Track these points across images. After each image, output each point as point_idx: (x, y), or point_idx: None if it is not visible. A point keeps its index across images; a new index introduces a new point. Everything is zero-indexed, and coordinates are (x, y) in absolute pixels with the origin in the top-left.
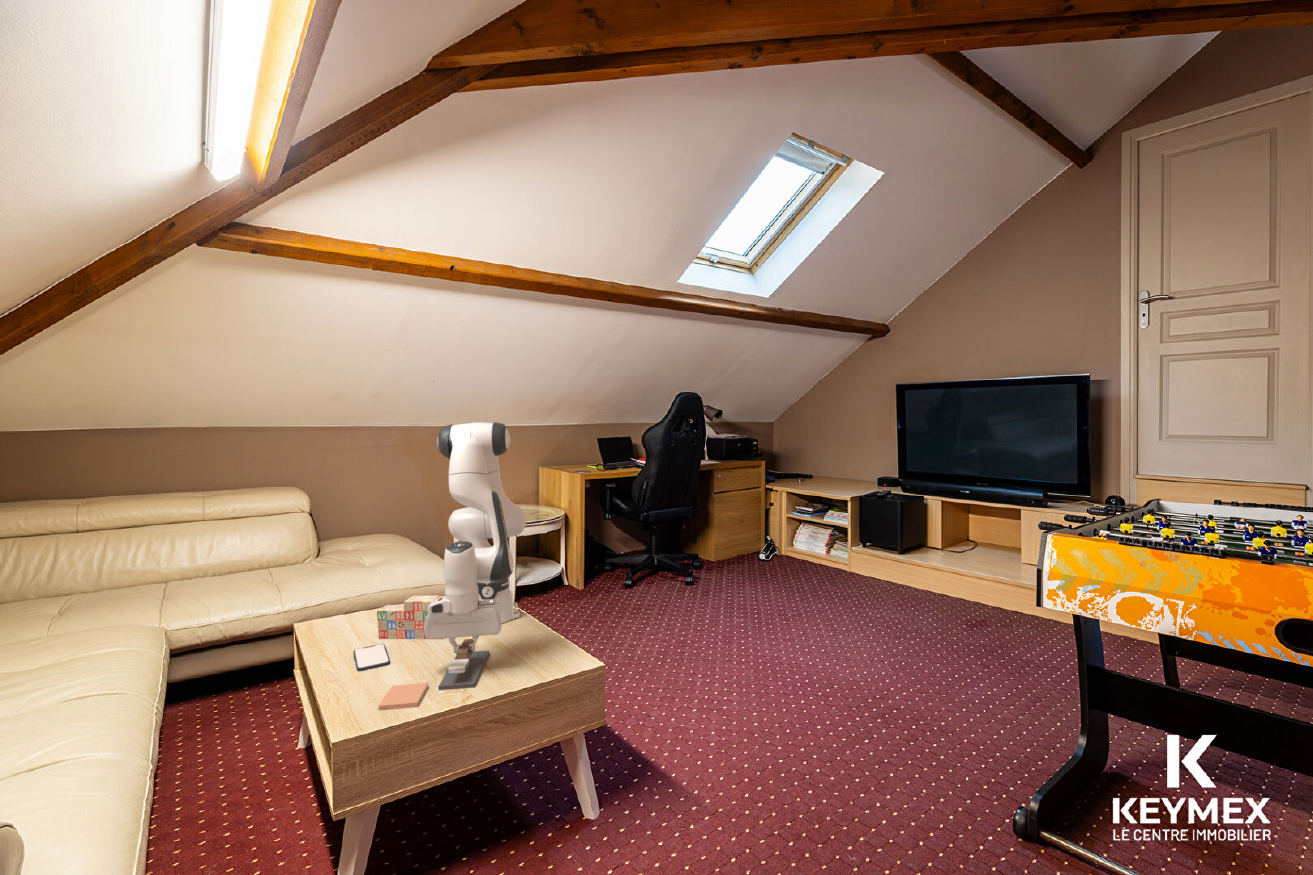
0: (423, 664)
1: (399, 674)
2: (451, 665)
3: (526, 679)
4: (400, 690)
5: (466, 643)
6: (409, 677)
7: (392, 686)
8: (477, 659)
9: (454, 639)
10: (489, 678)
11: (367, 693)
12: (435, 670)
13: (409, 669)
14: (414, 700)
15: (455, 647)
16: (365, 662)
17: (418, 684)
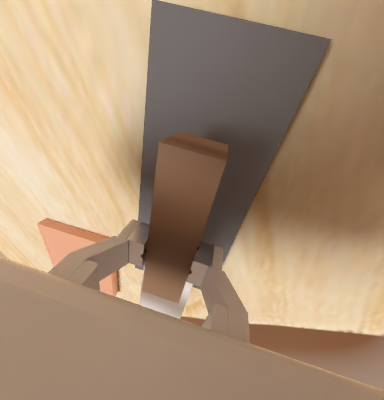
0: (41, 72)
1: (10, 136)
2: (143, 294)
3: (332, 309)
4: (66, 250)
5: (176, 222)
6: (49, 171)
7: (40, 227)
8: (238, 154)
9: (98, 290)
10: (249, 266)
11: (6, 212)
12: (102, 153)
13: (17, 106)
14: (107, 291)
15: (127, 259)
16: None
17: (90, 244)
